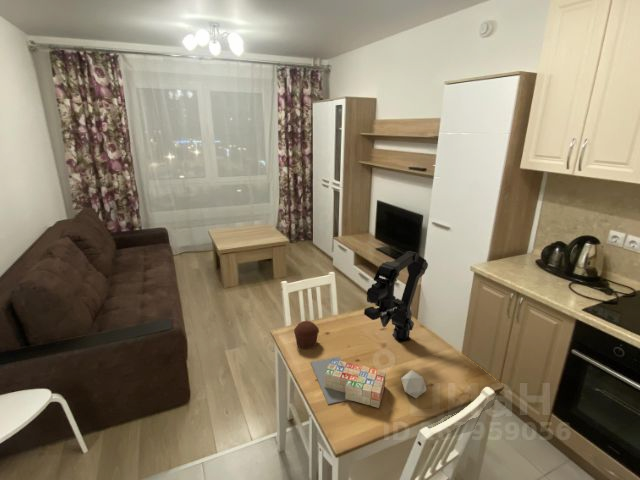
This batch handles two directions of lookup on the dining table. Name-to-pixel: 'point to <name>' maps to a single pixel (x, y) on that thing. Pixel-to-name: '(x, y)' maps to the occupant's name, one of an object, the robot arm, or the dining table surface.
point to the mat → (319, 371)
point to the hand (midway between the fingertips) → (384, 326)
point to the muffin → (306, 334)
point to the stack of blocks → (356, 382)
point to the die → (413, 384)
